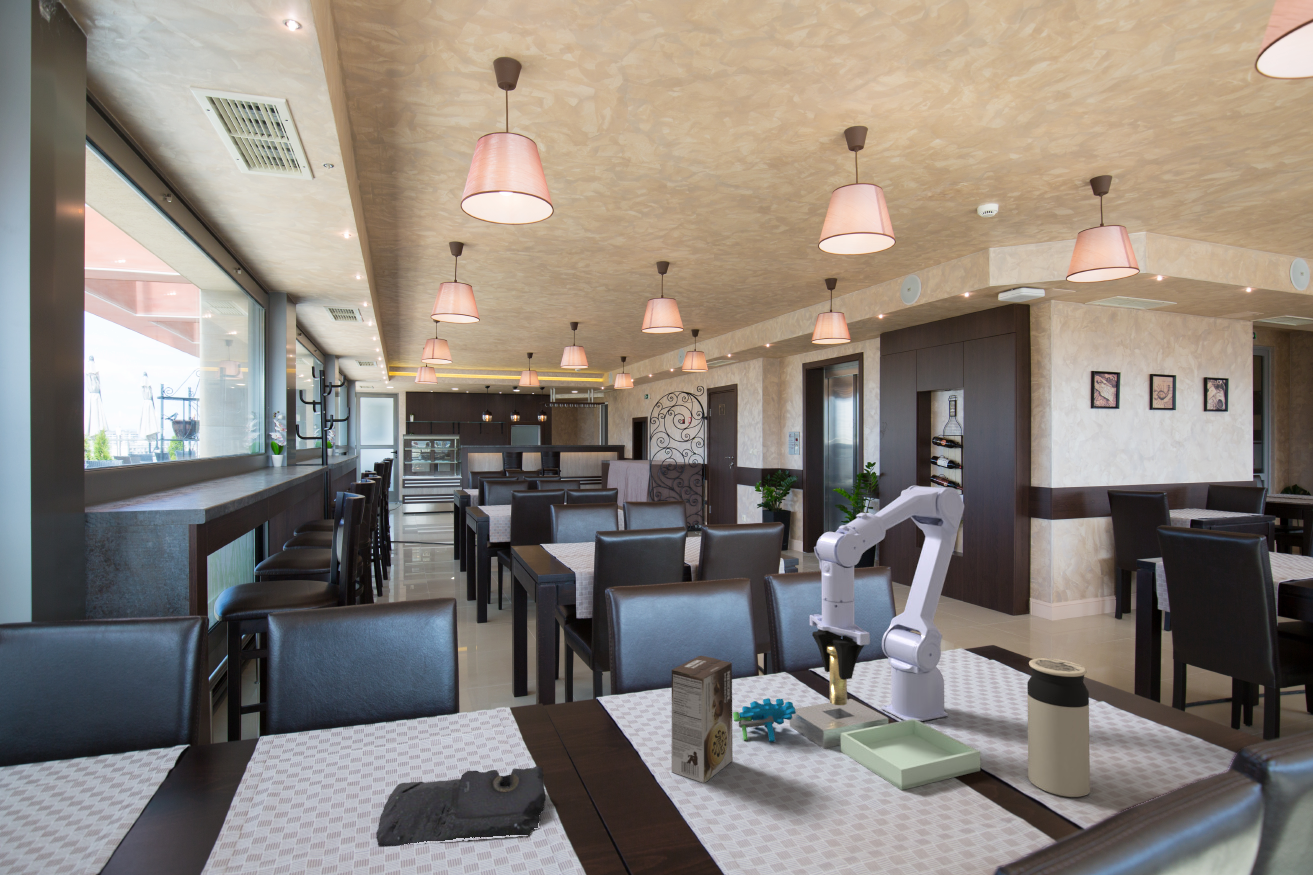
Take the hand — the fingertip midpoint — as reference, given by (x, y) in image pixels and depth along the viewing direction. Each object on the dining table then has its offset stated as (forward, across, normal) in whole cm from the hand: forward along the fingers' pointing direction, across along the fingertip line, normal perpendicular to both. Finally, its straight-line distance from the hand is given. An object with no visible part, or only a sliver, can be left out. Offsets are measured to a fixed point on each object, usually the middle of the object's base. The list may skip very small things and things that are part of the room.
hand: (838, 674), depth 121 cm
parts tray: (+10, +14, +3) cm, 17 cm away
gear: (+10, -4, -13) cm, 17 cm away
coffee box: (+10, +3, -29) cm, 31 cm away
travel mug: (+10, +29, +18) cm, 36 cm away
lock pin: (+5, 0, 0) cm, 5 cm away
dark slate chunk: (+11, +2, -65) cm, 66 cm away
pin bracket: (+10, 0, 0) cm, 10 cm away
